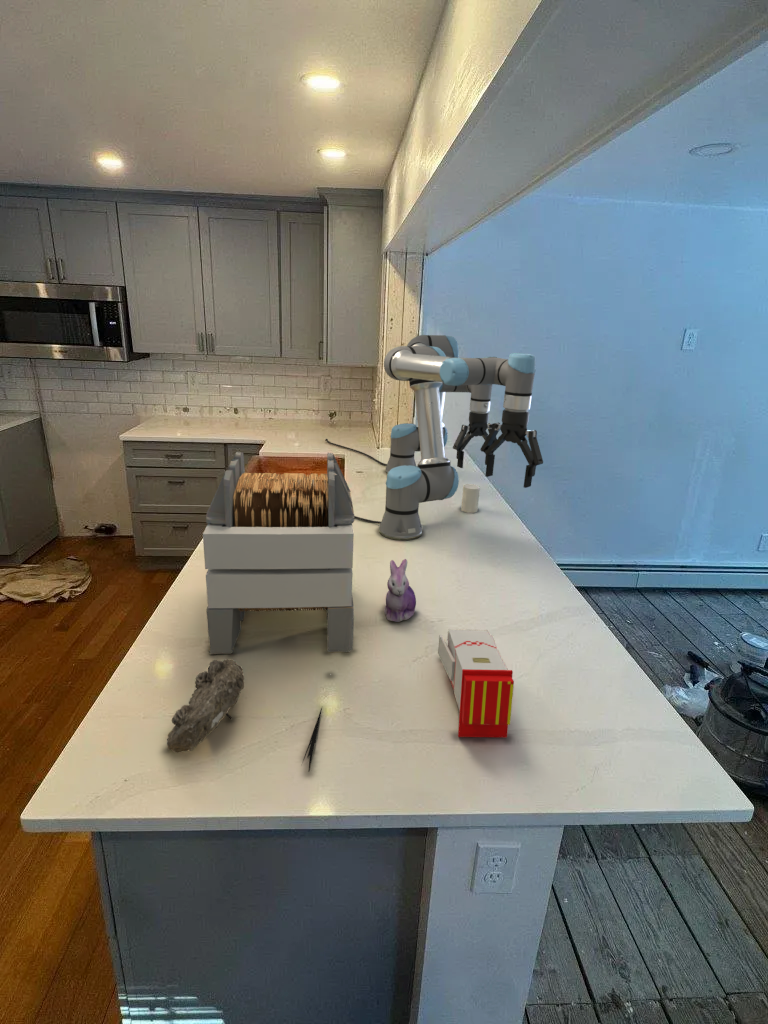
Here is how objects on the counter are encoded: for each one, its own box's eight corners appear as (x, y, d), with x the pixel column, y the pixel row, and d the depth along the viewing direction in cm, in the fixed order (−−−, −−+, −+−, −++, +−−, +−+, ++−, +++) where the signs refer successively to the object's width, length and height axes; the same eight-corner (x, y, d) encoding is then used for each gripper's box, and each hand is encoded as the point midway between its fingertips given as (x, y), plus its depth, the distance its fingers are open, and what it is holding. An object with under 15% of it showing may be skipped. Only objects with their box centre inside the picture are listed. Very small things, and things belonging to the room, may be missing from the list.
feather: (331, 679, 122) (336, 673, 122) (307, 777, 96) (313, 769, 95) (324, 675, 122) (329, 669, 121) (298, 772, 95) (304, 764, 95)
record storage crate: (229, 585, 158) (221, 442, 144) (346, 584, 161) (350, 444, 148) (206, 656, 126) (193, 481, 112) (353, 652, 130) (358, 483, 116)
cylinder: (479, 512, 225) (482, 489, 221) (463, 512, 224) (465, 488, 220) (475, 507, 231) (477, 484, 227) (459, 507, 230) (461, 483, 227)
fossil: (192, 660, 117) (244, 628, 112) (224, 691, 120) (276, 661, 115) (142, 746, 98) (202, 712, 93) (182, 779, 101) (242, 748, 96)
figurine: (392, 627, 141) (395, 572, 136) (374, 608, 149) (376, 556, 144) (425, 619, 145) (429, 566, 140) (405, 601, 154) (408, 550, 149)
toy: (488, 613, 130) (523, 677, 101) (484, 667, 133) (517, 744, 104) (435, 612, 130) (455, 676, 101) (432, 666, 133) (451, 743, 103)
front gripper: (562, 415, 156) (551, 489, 163) (488, 402, 172) (481, 469, 180) (547, 418, 151) (537, 494, 158) (473, 404, 167) (466, 473, 175)
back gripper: (457, 414, 207) (453, 470, 214) (511, 412, 218) (505, 465, 225) (446, 411, 213) (442, 466, 220) (499, 408, 224) (493, 461, 231)
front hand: (507, 481), depth 169 cm, fingers open, 13 cm apart
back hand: (474, 465), depth 223 cm, fingers open, 13 cm apart
